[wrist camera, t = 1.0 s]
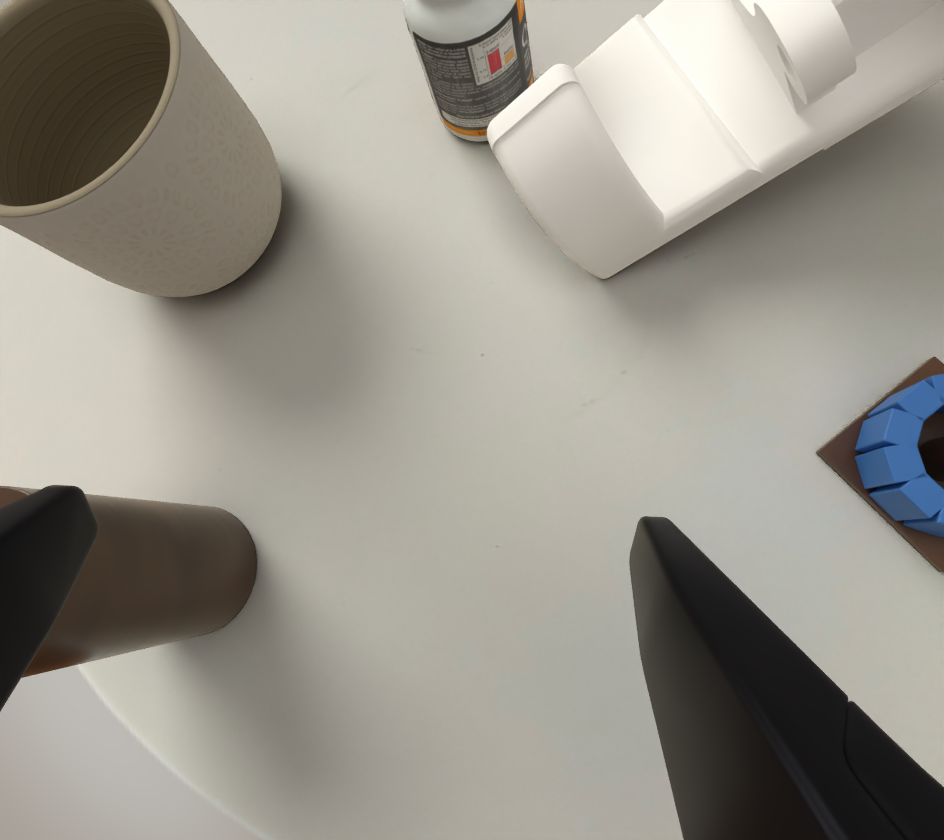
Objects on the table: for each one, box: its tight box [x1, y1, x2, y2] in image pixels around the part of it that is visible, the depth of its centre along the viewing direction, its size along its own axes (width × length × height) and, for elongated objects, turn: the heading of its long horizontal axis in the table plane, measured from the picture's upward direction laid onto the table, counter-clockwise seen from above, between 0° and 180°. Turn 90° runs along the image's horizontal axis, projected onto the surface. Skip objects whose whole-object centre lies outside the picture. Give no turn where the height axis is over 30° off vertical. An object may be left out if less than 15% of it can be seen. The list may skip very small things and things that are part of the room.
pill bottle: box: [402, 0, 534, 142], centre depth 28 cm, size 6×6×10 cm
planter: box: [0, 0, 281, 297], centre depth 29 cm, size 12×12×11 cm
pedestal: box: [0, 486, 256, 678], centre depth 24 cm, size 7×7×11 cm
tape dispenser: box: [487, 0, 944, 279], centre depth 24 cm, size 20×11×13 cm, turn 108°
